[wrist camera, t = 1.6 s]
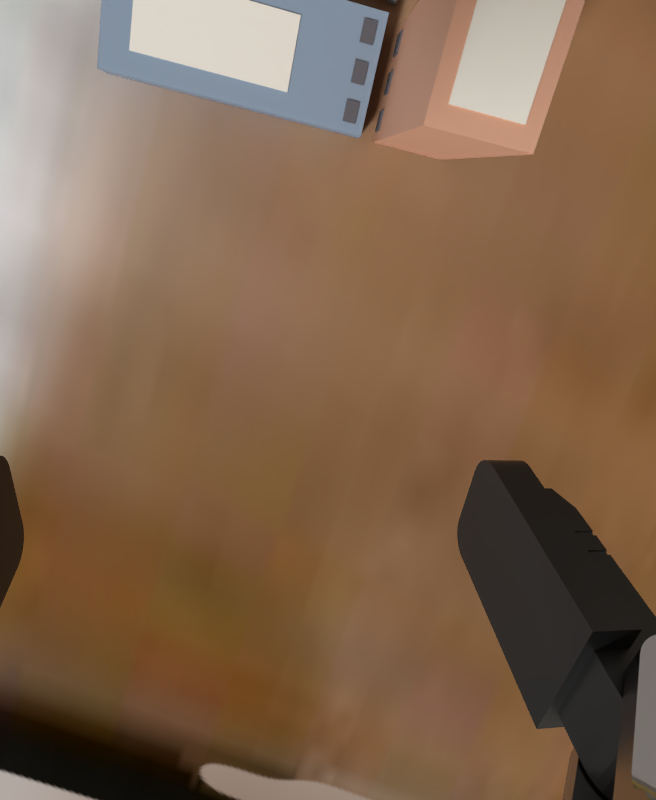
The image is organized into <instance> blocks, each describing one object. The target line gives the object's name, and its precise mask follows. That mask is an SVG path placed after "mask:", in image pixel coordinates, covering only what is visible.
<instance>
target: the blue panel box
mask: <svg viewBox="0 0 656 800" xmlns="http://www.w3.org/2000/svg"><path fill="white" fill-rule="evenodd" d="M388 15H389V12H385V11H382V10H378V9H375V8H372V7H368V6H365V5H361V4H358V3H354V2H351V1H348V0H102V1H101V17H100V33H99V49H98V65H97V68H98V69H100V70H102V71H104V72H106V73H108V74H112V75H116V76H119V77H123V78H127V79H131V80H135V81H139V82H143V83H146V84H150V85H154V86H158V87H162V88H166V89H170V90H173V91H177V92H181V93H185V94H189V95H193V96H197V97H200V98H204V99H208V100H212V101H216V102H220V103H224V104H227V105H231V106H235V107H239V108H243V109H247V110H251V111H255V112H258V113H262V114H266V115H270V116H274V117H278V118H282V119H285V120H289V121H293V122H297V123H301V124H305V125H309V126H312V127H316V128H320V129H324V130H328V131H332V132H336V133H339V134H343V135H347V136H351V137H355V138H359V137H361V134H362V129H363V125H364V120H365V116H366V112H367V107H368V103H369V99H370V94H371V90H372V85H373V81H374V77H375V72H376V68H377V63H378V59H379V55H380V50H381V46H382V41H383V37H384V33H385V28H386V24H387V20H388Z"/></svg>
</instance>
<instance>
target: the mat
mask: <svg viewBox="0 0 656 800" xmlns="http://www.w3.org/2000/svg"><path fill="white" fill-rule="evenodd" d="M387 1H389V2H390V3H392V4H393V5H395V4H396V2H397V0H387Z"/></svg>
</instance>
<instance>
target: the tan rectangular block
mask: <svg viewBox="0 0 656 800" xmlns="http://www.w3.org/2000/svg"><path fill="white" fill-rule="evenodd" d="M584 3H585V0H419V1H418V3H417V4H416V5H415V7H414V8H413V10H412V11H411V12H410V14H409V15H408V17H407V18H406V19H405V21H404V22H403V24H402V25H401V27H400V31H399V34H398V36H397V41H396V45H395V49H394V53H393V61H392V65H391V69H390V73H389V74H388V79H387V83H386V87H385V91H384V99H383V103H382V107H381V111H380V113H379V117H378V121H377V125H376V130H375V132H376V133H375V137H374V141H373V142H374V143H378V144H382V145H385V146H389V147H393V148H397V149H401V150H405V151H409V152H412V153H416V154H420V155H424V156H428V157H432V158H436V159H439V160H443V159H461V158H478V157H496V156H514V155H531V154H533V153H534V150H535V147H536V144H537V141H538V138H539V135H540V132H541V130H542V127H543V124H544V121H545V118H546V115H547V112H548V109H549V106H550V103H551V100H552V97H553V94H554V91H555V88H556V85H557V82H558V79H559V76H560V73H561V70H562V67H563V65H564V62H565V59H566V56H567V53H568V50H569V47H570V44H571V41H572V38H573V35H574V32H575V29H576V26H577V23H578V20H579V17H580V14H581V11H582V8H583V5H584Z"/></svg>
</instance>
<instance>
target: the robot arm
mask: <svg viewBox="0 0 656 800" xmlns="http://www.w3.org/2000/svg"><path fill="white" fill-rule="evenodd" d="M457 536H458V545H459V550H460V553H461V556H462V558H463V561H464V563H465V565H466V568H467V570H468V572H469V575H470V577H471V579H472V581H473V584H474V586H475V588H476V591H477V593H478V595H479V598H480V600H481V602H482V604H483V607H484V609H485V611H486V614H487V616H488V618H489V621H490V623H491V625H492V627H493V630H494V632H495V634H496V637H497V639H498V641H499V643H500V646H501V648H502V650H503V653H504V655H505V657H506V660H507V662H508V664H509V666H510V669H511V671H512V673H513V676H514V678H515V680H516V683H517V685H518V687H519V689H520V692H521V694H522V696H523V699H524V701H525V703H526V706H527V708H528V710H529V712H530V715H531V717H532V719H533V722H534V724H535V726H536V729H542V728H554V727H565V729H566V731H567V733H568V736H569V738H570V740H571V742H572V744H573V746H574V749H573V750H572V752H571V755H570V759H569V765H568V771H567V777H566V783H565V788H564V794H563V800H656V617H655V615H654V614H653V613H652V611H651V610H650V609H649V607H648V606H647V604H646V603H645V602H644V600H643V599H642V598H641V596H640V595H639V594H638V592H637V591H636V589H635V588H634V587H633V585H632V584H631V583H630V581H629V580H628V579H627V577H626V576H625V574H624V573H623V572H622V570H621V569H620V568H619V566H618V565H617V564H616V562H615V561H614V559H613V558H612V557H611V555H607V553H606V548H605V547H604V546H603V544H602V543H601V542H600V540H599V539H598V538H597V536H596V535H594V536H593V534H592V529H591V528H590V527H589V525H588V524H587V523H586V521H585V520H584V518H583V517H582V516H581V514H580V513H579V512H578V510H577V509H576V508H575V507H574V506H573V505H571V504H570V503H569V502H568V501H566V500H565V499H564V498H563V497H561V496H560V495H559V494H558V493H556V492H555V491H554V490H553V489H546V488H544V487H543V485H542V484H541V483H540V481H539V480H538V478H537V477H536V475H535V474H534V472H533V471H532V470H531V468H530V467H529V465H528V464H527V463H525V462H524V461H503V460H483V461H481V462H480V463H479V464H478V466H477V467H476V470H475V473H474V476H473V479H472V482H471V485H470V488H469V491H468V494H467V497H466V500H465V503H464V507H463V510H462V513H461V516H460V519H459V523H458V531H457ZM23 543H24V530H23V523H22V519H21V515H20V510H19V506H18V502H17V497H16V493H15V489H14V484H13V480H12V476H11V471H10V467H9V464H8V462H7V460H6V459H5V458H4V457H3V456H0V607H1V604H2V602H3V600H4V597H5V595H6V593H7V591H8V588H9V586H10V584H11V581H12V579H13V577H14V575H15V572H16V570H17V568H18V565H19V562H20V559H21V555H22V550H23Z"/></svg>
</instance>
